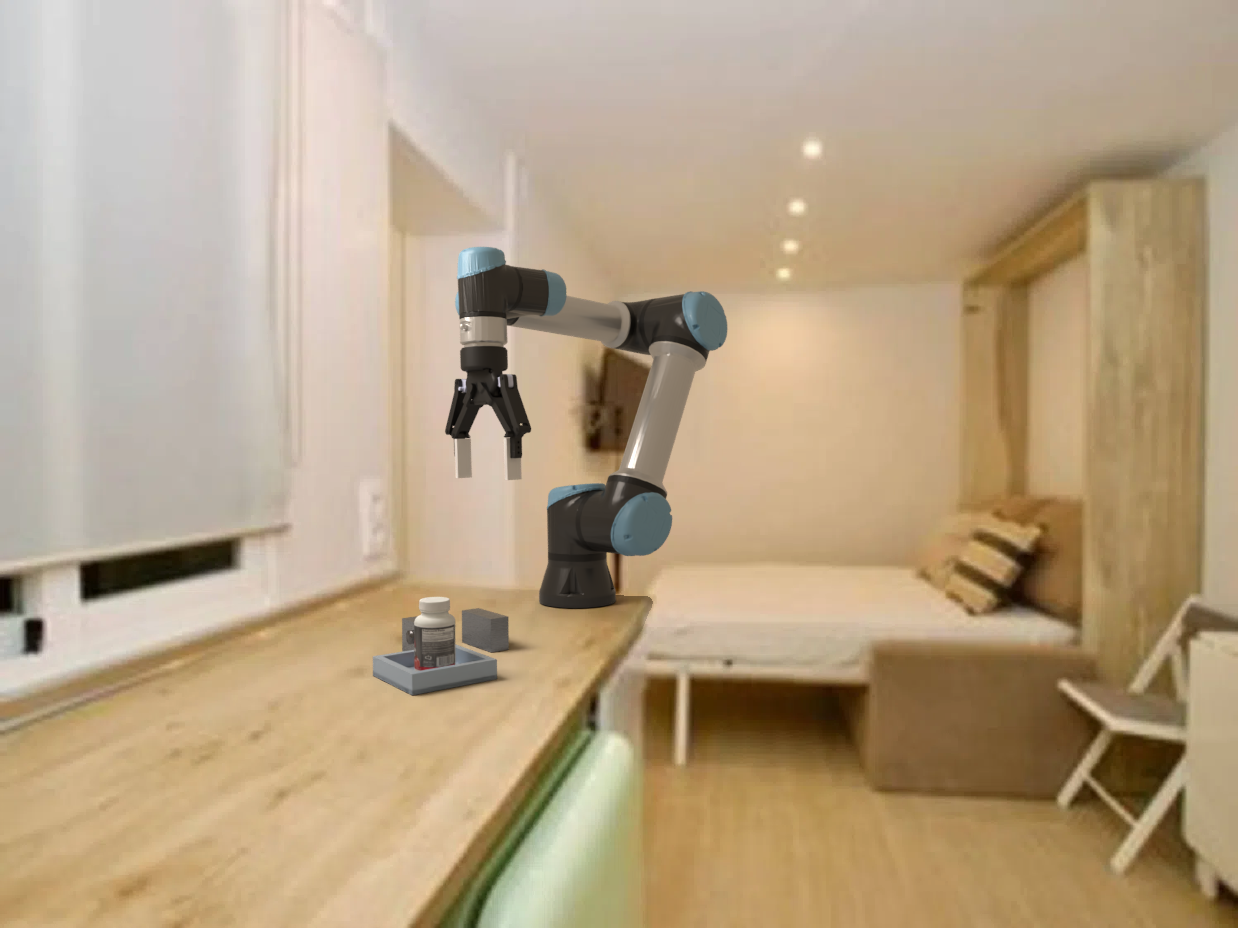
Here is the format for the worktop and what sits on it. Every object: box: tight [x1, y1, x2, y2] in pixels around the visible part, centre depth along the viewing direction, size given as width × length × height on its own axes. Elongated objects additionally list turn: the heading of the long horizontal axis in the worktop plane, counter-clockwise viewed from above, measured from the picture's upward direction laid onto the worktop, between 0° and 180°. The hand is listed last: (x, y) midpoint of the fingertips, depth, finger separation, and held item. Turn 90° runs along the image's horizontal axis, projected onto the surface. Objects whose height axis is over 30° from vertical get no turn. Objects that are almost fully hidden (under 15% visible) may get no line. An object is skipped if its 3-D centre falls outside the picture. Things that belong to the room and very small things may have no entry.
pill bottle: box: [414, 596, 457, 671], centre depth 115 cm, size 5×5×10 cm
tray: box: [372, 643, 498, 696], centre depth 115 cm, size 12×12×3 cm
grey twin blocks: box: [401, 607, 510, 653], centre depth 130 cm, size 15×9×5 cm, turn 129°
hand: (487, 479), depth 140 cm, fingers open, 13 cm apart
